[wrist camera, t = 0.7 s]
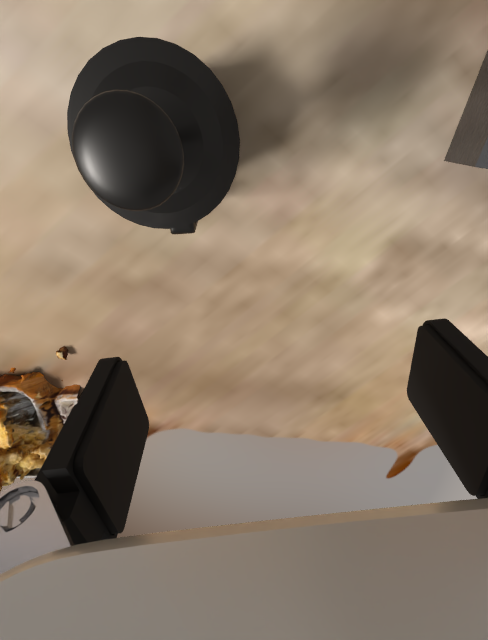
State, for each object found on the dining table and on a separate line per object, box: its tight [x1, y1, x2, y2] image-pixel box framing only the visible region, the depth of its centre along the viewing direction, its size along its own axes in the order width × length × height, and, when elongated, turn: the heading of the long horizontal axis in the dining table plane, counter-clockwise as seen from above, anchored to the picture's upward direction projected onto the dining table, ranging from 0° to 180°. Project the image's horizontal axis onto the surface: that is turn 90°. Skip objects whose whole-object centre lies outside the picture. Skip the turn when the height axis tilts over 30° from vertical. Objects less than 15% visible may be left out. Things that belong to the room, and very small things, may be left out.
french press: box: [67, 37, 240, 234], centre depth 23 cm, size 12×9×23 cm
